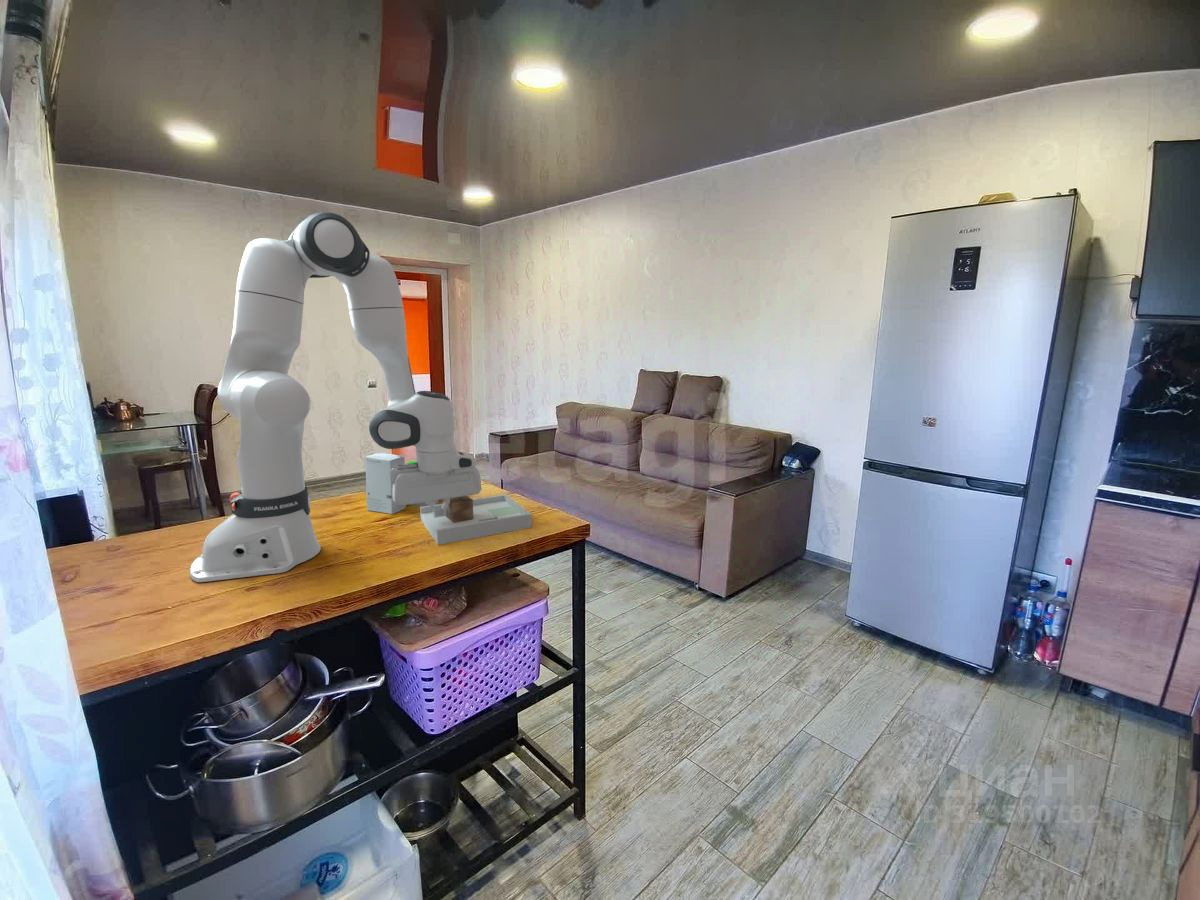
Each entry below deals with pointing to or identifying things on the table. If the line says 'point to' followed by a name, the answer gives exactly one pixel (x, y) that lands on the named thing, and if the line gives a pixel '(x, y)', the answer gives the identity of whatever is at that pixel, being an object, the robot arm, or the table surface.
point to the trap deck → (478, 520)
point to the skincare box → (381, 482)
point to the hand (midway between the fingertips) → (439, 516)
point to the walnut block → (460, 509)
